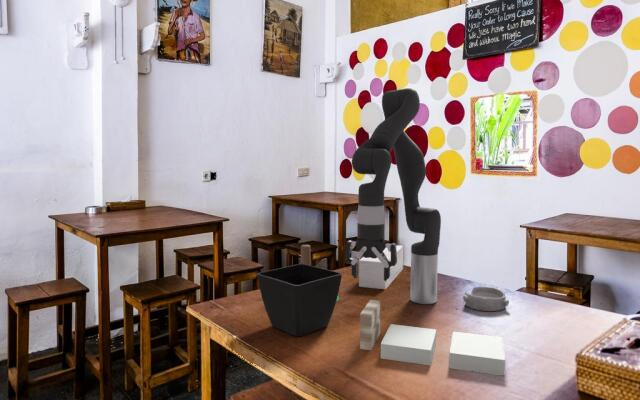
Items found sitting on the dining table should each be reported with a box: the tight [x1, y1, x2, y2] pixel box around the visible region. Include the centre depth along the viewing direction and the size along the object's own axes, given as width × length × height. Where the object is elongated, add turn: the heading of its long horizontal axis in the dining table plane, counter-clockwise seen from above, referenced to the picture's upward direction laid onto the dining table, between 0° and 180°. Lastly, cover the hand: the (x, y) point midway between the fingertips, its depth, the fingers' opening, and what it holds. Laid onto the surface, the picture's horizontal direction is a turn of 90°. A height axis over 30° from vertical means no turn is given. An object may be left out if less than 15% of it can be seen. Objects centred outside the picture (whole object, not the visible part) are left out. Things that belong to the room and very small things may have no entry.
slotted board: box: [380, 323, 506, 377], centre depth 123 cm, size 14×30×4 cm, turn 71°
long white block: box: [358, 244, 404, 290], centre depth 197 cm, size 32×11×11 cm, turn 158°
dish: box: [462, 286, 510, 312], centre depth 161 cm, size 14×14×5 cm
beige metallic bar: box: [359, 299, 381, 351], centre depth 132 cm, size 12×3×10 cm, turn 161°
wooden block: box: [300, 244, 328, 270], centre depth 175 cm, size 4×11×18 cm, turn 53°
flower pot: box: [257, 263, 343, 337], centre depth 143 cm, size 19×19×17 cm
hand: (370, 278), depth 131 cm, fingers open, 8 cm apart
